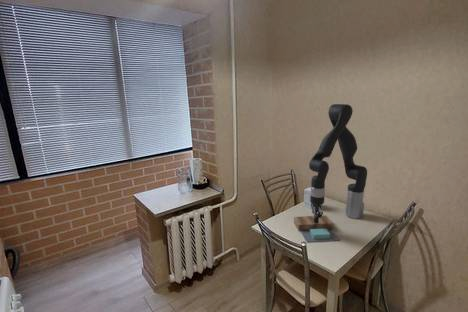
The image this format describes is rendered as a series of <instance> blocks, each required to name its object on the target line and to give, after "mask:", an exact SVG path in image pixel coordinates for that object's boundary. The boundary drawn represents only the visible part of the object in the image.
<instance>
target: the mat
mask: <svg viewBox="0 0 468 312" xmlns="http://www.w3.org/2000/svg"><path fill="white" fill-rule="evenodd" d="M327 231H328V232H329V233H330V238H326V239H313V237H312V236H311V234H310V231H300V233H301V235H302V237H303V238H304V240H305V241H306V243H320V242H321V243H324V242H340V241H341V239H340V238H339V236H337V234H336V233H335V232H334V231H333V230H327Z"/></svg>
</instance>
